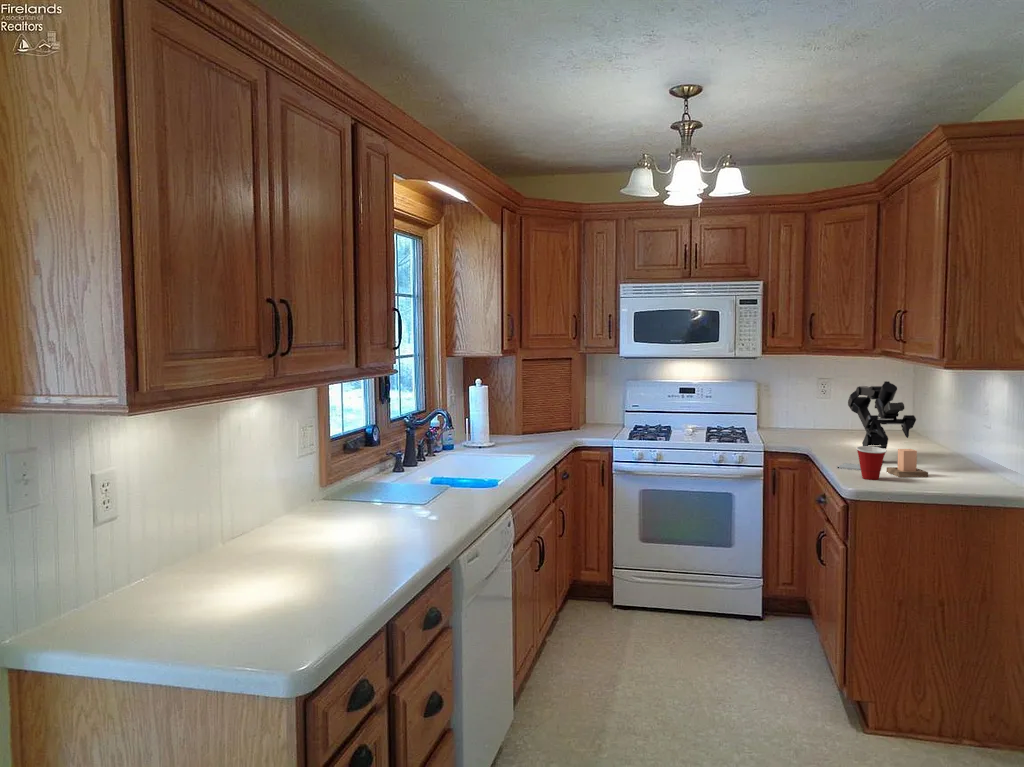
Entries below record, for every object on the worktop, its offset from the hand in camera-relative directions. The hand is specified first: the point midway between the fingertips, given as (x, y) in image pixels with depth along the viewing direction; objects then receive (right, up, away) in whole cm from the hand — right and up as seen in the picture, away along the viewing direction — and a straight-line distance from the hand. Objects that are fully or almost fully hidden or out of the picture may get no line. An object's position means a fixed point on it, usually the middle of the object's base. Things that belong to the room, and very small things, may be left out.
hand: (896, 437), depth 302 cm
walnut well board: (+1, -14, -6) cm, 16 cm away
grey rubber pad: (-12, -14, +11) cm, 21 cm away
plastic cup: (-17, -15, -14) cm, 27 cm away
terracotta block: (+1, -15, -6) cm, 16 cm away
